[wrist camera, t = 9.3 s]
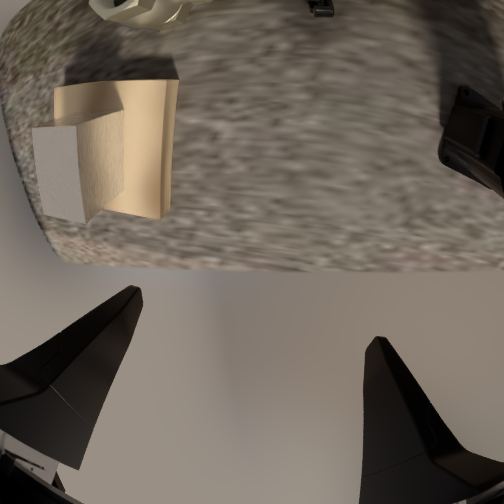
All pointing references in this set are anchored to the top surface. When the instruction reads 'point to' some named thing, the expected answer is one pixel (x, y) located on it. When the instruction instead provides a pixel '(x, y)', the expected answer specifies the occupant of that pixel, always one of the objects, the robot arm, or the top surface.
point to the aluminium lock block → (80, 163)
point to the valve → (169, 11)
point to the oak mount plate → (134, 136)
